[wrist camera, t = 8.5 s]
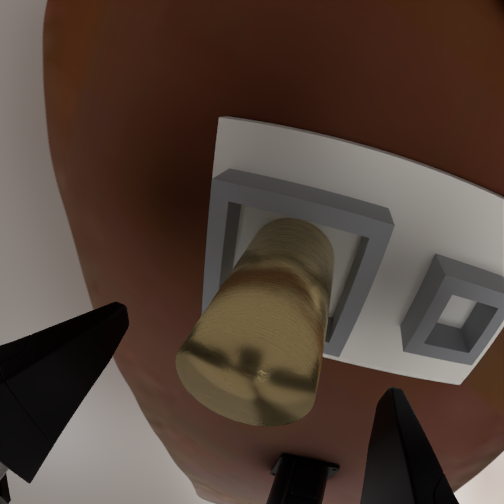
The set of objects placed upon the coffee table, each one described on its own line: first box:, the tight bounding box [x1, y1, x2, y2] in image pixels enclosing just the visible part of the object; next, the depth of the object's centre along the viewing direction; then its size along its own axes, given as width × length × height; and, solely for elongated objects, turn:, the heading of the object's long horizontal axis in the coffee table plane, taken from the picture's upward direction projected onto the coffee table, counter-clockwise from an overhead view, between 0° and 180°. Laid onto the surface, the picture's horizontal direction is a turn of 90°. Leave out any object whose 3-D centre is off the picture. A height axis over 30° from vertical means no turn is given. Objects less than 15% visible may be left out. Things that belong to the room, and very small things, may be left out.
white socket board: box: [202, 116, 504, 385], centre depth 14 cm, size 12×18×3 cm, turn 82°
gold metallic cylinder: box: [176, 218, 335, 426], centre depth 12 cm, size 4×4×8 cm
